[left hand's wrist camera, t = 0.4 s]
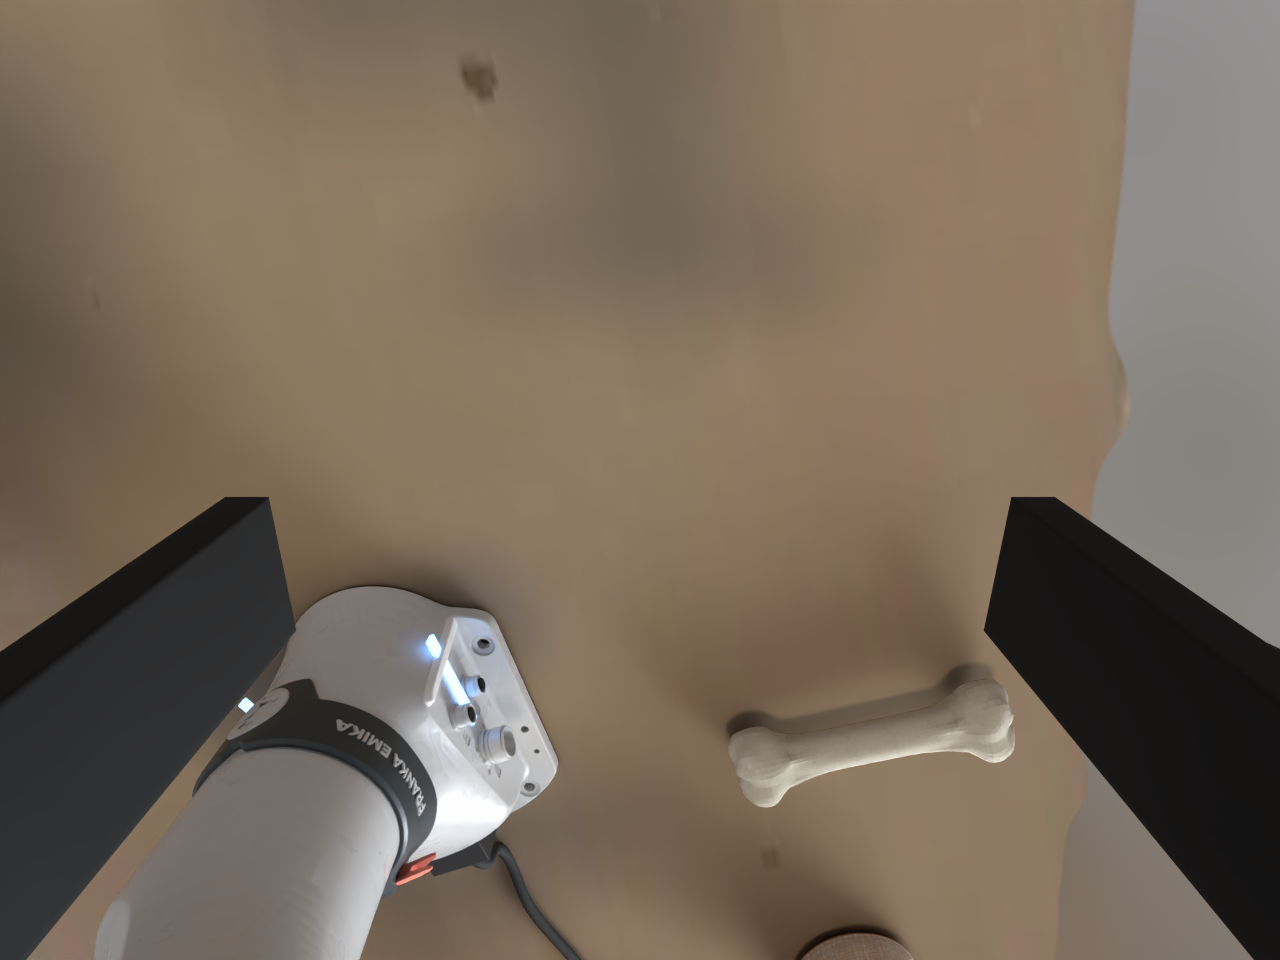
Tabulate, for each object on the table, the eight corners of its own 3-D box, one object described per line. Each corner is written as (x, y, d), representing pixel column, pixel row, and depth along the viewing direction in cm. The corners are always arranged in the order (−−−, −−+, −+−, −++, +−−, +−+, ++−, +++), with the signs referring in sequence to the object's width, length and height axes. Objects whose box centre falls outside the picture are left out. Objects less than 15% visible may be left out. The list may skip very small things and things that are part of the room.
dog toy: (738, 778, 55) (747, 830, 50) (721, 717, 53) (729, 766, 48) (997, 723, 53) (1032, 772, 48) (990, 659, 51) (1025, 704, 46)
